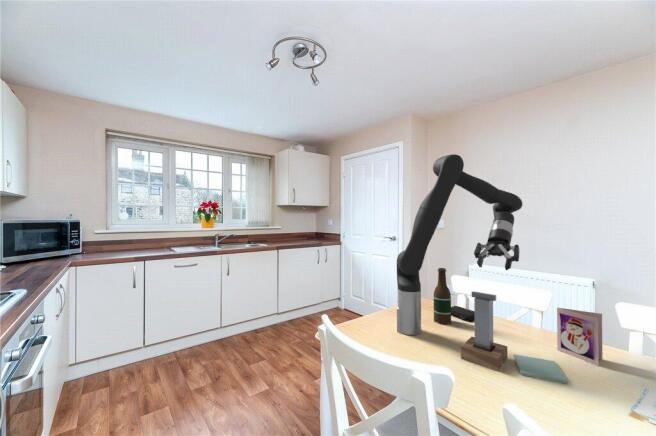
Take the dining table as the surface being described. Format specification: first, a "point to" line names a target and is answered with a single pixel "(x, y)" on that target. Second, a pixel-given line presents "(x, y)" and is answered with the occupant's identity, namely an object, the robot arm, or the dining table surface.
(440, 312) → the beer bottle
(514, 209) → the robot arm
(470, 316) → the carrying case or bag
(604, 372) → the dining table surface
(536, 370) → the pad
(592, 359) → the greeting card
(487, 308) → the t key
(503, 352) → the socket block
